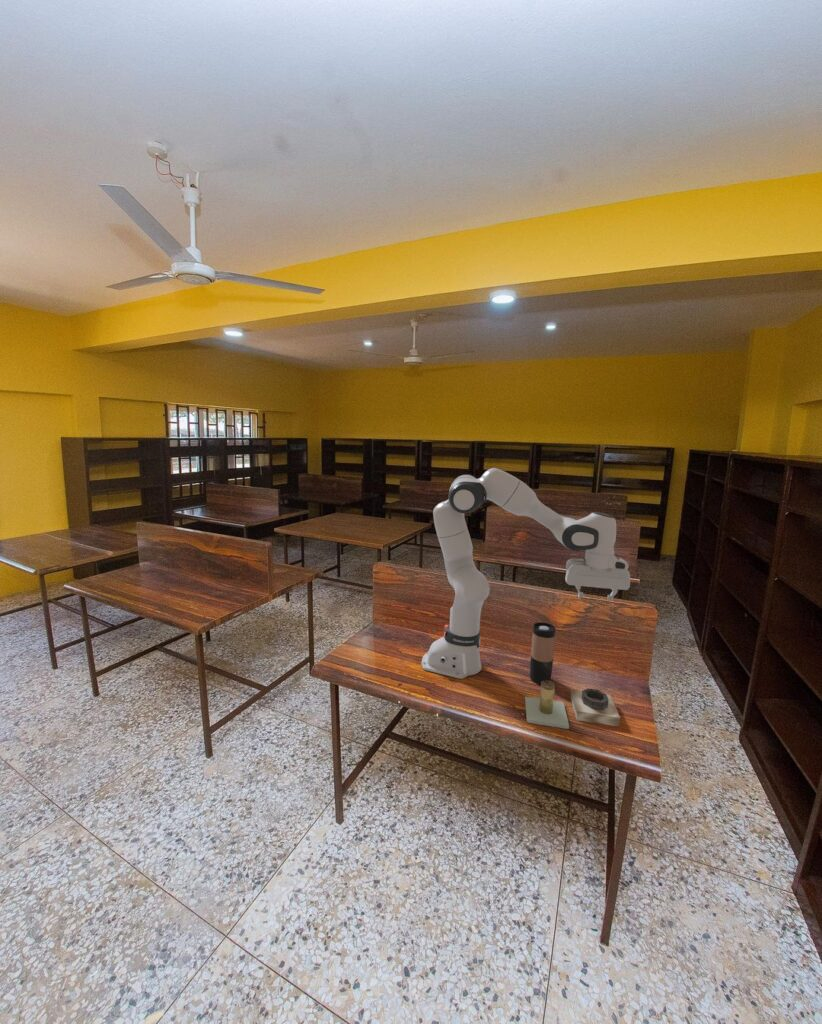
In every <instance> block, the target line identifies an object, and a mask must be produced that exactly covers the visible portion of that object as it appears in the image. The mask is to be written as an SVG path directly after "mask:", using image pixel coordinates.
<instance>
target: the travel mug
mask: <svg viewBox="0 0 822 1024" xmlns="http://www.w3.org/2000/svg"><path fill="white" fill-rule="evenodd" d="M531 637H532V639H531V649H530V666H529V678H530V679H529V680H530V681H531V682H533V683H534V684H536V685H540V686H541V682H542V681H543V680H549V681H552V673H553V665H554V664H553V663H554V655H555V643H556V642H555V640H556V627H555V625H553V624H551V623H548V622H541V621H540V622H535V623H533V627H532V636H531Z"/></svg>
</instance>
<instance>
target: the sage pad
mask: <svg viewBox="0 0 822 1024" xmlns="http://www.w3.org/2000/svg"><path fill="white" fill-rule="evenodd" d="M524 702H525V703H524V704H525V715H526V716H525V717H526V723H528V724H533V725H534V724H535V725H541V726H547V727H552V728H553V727H554V728H561V729H566V730H569V729H570V724H569V719H568V716H567V711H566V708H565V707H566V706H565V703H564V701H560V700H559V701H558V700H554V702H553V712H552V714H544V713H542V712H541V711H540V710H539V706H540V698H538V697H537V698H536V697H530V696H525V697H524Z"/></svg>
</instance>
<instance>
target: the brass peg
mask: <svg viewBox="0 0 822 1024" xmlns="http://www.w3.org/2000/svg"><path fill="white" fill-rule="evenodd" d="M555 689H556V684H555V682H553V681H552V680H551V681H549V680H543V681H542V682H541V685H540V696H539V699H540V706H539V710H540V711H541V712H542V713H544V714H552V712H553V702H554V701H555V700H554V698H555Z"/></svg>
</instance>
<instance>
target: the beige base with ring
mask: <svg viewBox="0 0 822 1024" xmlns="http://www.w3.org/2000/svg"><path fill="white" fill-rule="evenodd" d="M570 691H571V692H570V701H571V704H572V705H571V706H572V708H573V711H574V715H575V719H576V721H579V722H580V721H581V722H587V723H592V724H593V723H594V724H599V725H606V726H612V727H620V724H621V723H620V722H621V716H620V714H619V712H618V710H617V707H616V705H615V703H614V700H613V698H612V696H611V694H607V693H605V692H603V691H602V690H599V689H594V688H585V689H583V690H581V689H580V690H578V689H571V690H570Z"/></svg>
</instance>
